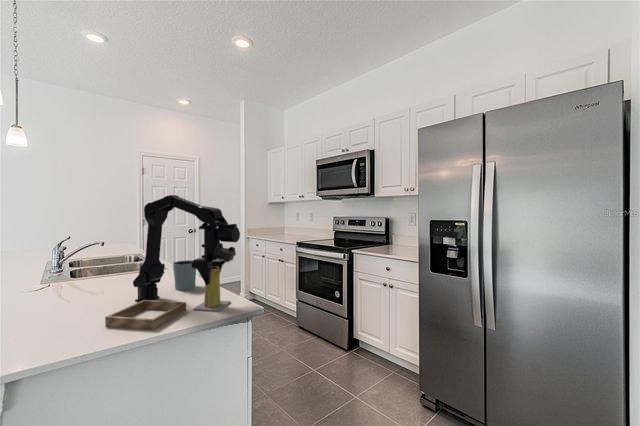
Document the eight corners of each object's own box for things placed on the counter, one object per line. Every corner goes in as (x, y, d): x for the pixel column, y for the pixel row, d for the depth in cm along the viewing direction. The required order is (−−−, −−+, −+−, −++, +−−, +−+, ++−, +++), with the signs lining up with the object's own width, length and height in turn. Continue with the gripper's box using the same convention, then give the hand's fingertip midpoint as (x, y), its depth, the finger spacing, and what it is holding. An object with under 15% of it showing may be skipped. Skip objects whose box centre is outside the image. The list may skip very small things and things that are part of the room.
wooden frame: (105, 326, 95) (105, 317, 95) (144, 307, 112) (144, 299, 112) (153, 329, 92) (153, 320, 92) (185, 310, 109) (185, 302, 109)
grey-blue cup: (181, 292, 131) (181, 265, 131) (168, 288, 136) (168, 262, 136) (201, 286, 140) (201, 261, 139) (188, 283, 145) (188, 259, 145)
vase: (215, 308, 110) (215, 270, 109) (200, 306, 111) (200, 268, 111) (223, 302, 116) (224, 266, 115) (209, 301, 117) (209, 265, 117)
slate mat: (193, 310, 109) (193, 308, 109) (207, 301, 119) (207, 299, 119) (218, 311, 108) (218, 310, 108) (230, 302, 118) (230, 301, 118)
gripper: (220, 245, 102) (220, 290, 103) (242, 238, 121) (242, 276, 121) (190, 244, 104) (190, 288, 104) (216, 238, 122) (216, 275, 123)
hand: (212, 281), depth 113 cm, fingers open, 7 cm apart
